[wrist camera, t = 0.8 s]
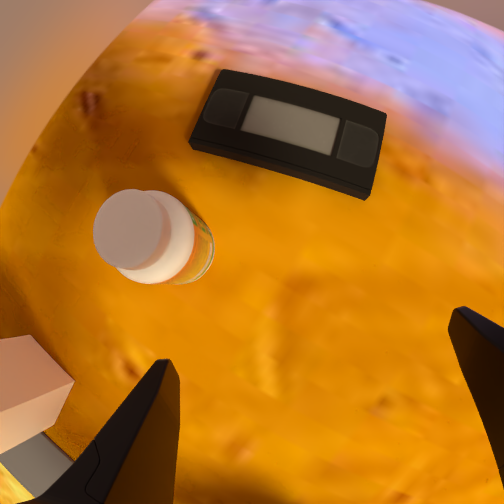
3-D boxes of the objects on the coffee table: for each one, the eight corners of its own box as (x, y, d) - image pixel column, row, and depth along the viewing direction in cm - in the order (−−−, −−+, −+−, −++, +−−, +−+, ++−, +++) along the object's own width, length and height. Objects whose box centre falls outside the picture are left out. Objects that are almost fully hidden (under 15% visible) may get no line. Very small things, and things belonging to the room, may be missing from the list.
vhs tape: (225, 81, 26) (222, 68, 24) (380, 124, 25) (387, 113, 23) (194, 151, 26) (188, 141, 24) (363, 202, 24) (370, 195, 22)
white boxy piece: (75, 381, 24) (-19, 419, 12) (54, 424, 24) (-27, 467, 12) (30, 334, 25) (-65, 348, 13) (13, 380, 25) (-70, 404, 13)
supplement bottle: (228, 232, 24) (197, 199, 15) (196, 296, 24) (146, 304, 14) (168, 203, 25) (111, 160, 15) (138, 264, 25) (66, 252, 15)
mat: (75, 462, 23) (73, 463, 23) (50, 508, 23) (48, 509, 22) (0, 383, 25) (-3, 384, 24) (-15, 441, 24) (-17, 442, 24)
